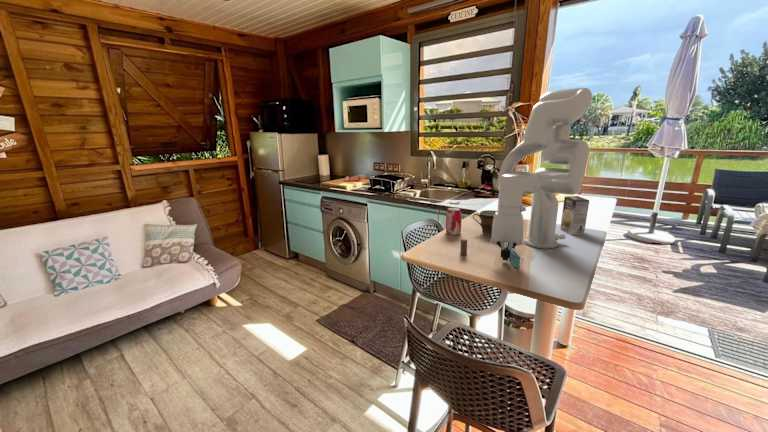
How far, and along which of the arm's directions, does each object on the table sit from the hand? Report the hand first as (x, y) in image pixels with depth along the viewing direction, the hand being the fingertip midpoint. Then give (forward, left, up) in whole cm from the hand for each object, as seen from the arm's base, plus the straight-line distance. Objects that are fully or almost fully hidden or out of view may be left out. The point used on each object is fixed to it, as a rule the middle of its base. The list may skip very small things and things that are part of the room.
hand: (504, 259), depth 110 cm
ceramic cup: (-8, -33, -2) cm, 34 cm away
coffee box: (-47, -28, -2) cm, 54 cm away
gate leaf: (-3, -1, -1) cm, 4 cm away
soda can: (+7, -36, -2) cm, 36 cm away
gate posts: (+2, -10, -1) cm, 10 cm away
